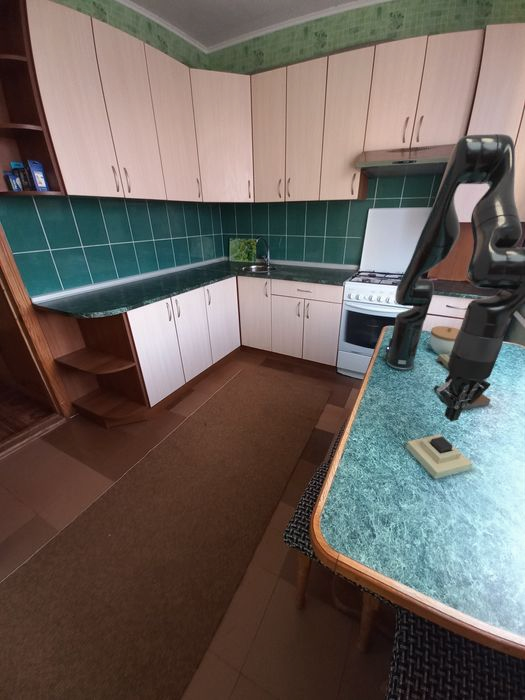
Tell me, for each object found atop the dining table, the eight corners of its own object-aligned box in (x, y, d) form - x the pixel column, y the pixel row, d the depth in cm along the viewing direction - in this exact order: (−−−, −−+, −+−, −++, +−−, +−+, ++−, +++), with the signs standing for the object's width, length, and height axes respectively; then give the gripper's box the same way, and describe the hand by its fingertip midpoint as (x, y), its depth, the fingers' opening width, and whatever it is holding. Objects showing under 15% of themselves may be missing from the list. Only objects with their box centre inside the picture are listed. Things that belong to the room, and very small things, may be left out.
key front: (429, 444, 71) (431, 438, 71) (440, 441, 72) (442, 436, 71) (439, 453, 69) (441, 448, 68) (451, 451, 69) (453, 445, 69)
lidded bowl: (421, 344, 128) (427, 321, 122) (452, 345, 126) (460, 322, 121) (432, 358, 116) (439, 333, 111) (466, 359, 115) (475, 334, 110)
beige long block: (485, 381, 101) (488, 373, 99) (462, 383, 101) (465, 374, 99) (455, 360, 115) (458, 352, 113) (436, 361, 115) (438, 353, 113)
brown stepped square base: (436, 392, 96) (439, 382, 94) (461, 387, 98) (465, 377, 97) (462, 410, 88) (466, 400, 86) (488, 405, 90) (493, 394, 88)
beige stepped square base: (405, 447, 75) (408, 435, 73) (437, 439, 77) (441, 428, 76) (434, 479, 67) (439, 467, 65) (470, 469, 69) (475, 457, 67)
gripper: (484, 339, 63) (460, 403, 71) (432, 347, 60) (414, 413, 68) (519, 355, 56) (489, 424, 64) (463, 365, 54) (439, 435, 62)
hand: (450, 418), depth 66 cm, fingers closed
